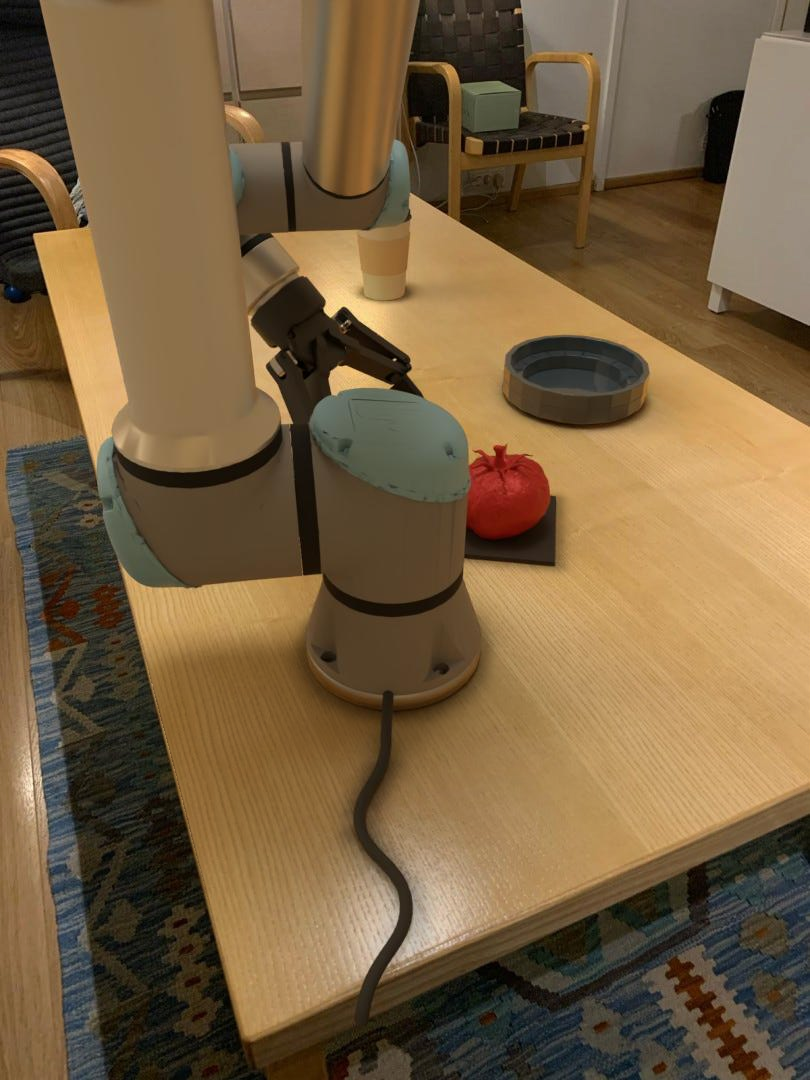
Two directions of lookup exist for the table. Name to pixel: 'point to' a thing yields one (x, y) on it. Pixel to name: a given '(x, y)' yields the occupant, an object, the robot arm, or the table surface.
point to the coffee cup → (384, 260)
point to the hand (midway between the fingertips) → (408, 457)
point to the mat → (518, 543)
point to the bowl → (575, 379)
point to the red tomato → (505, 494)
